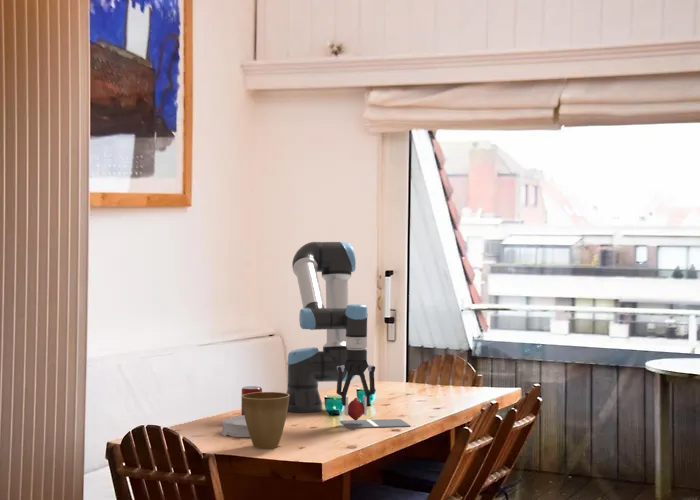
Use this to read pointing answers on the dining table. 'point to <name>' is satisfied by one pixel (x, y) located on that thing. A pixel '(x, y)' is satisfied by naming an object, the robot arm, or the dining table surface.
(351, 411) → the onion
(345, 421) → the mat
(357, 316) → the robot arm
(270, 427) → the plant pot
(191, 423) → the dining table surface
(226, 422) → the food container
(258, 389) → the soda can
